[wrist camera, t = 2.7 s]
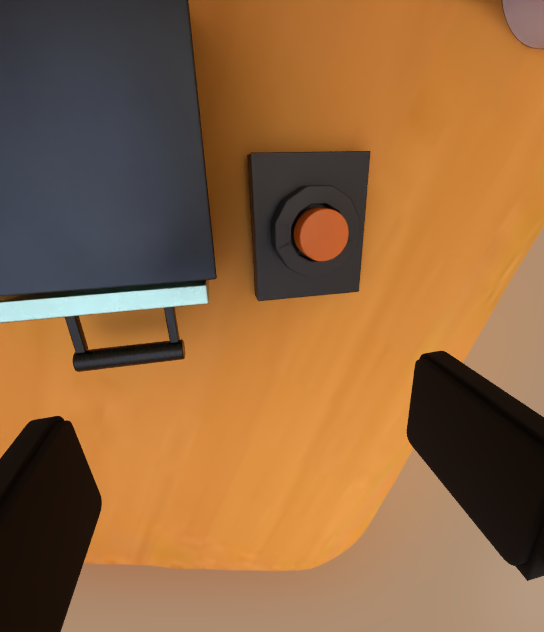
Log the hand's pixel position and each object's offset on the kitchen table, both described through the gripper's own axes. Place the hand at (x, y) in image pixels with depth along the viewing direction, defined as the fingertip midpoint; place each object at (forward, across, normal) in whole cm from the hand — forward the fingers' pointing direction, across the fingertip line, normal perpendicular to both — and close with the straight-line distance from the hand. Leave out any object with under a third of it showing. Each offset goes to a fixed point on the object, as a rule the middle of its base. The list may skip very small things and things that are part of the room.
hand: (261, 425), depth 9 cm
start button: (+16, -7, -3) cm, 18 cm away
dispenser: (+19, +7, -9) cm, 22 cm away
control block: (+19, -7, -3) cm, 21 cm away
